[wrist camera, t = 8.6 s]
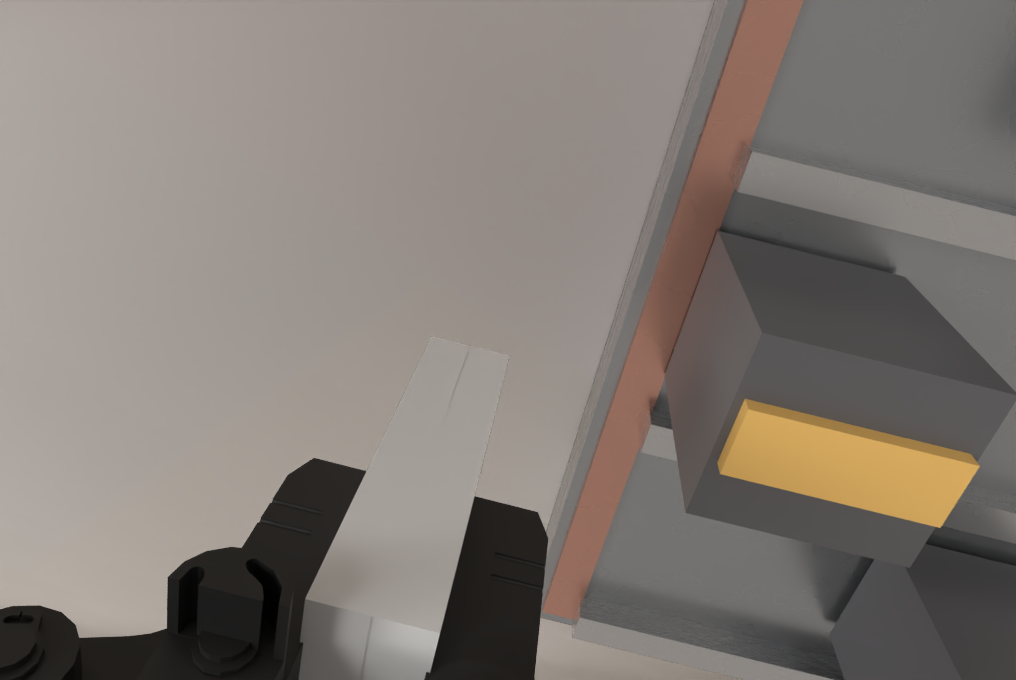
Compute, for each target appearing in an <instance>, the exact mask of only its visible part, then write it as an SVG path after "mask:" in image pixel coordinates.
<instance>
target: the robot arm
mask: <svg viewBox="0 0 1016 680" xmlns="http://www.w3.org/2000/svg"><path fill="white" fill-rule="evenodd" d="M509 357H510V355H506V354H502V353H498V352H494V351H490V350H486V349H482V348H478V347H474V346H470V345H466V344H462V343H458V342H454V341H450V340H446V339H442V338H438V337H434V336H431V338H430V340H429V342H428V344H427V347H426V349H425V351H424V353H423V355H422V357H421V359H420V361H419V363H418V365H417V367H416V369H415V371H414V374H413V376H412V378H411V380H410V382H409V384H408V386H407V388H406V390H405V392H404V394H403V396H402V399H401V401H400V403H399V405H398V407H397V409H396V411H395V413H394V415H393V417H392V419H391V421H390V423H389V426H388V428H387V430H386V432H385V434H384V436H383V438H382V440H381V442H380V444H379V446H378V448H377V451H376V453H375V455H374V457H373V459H372V461H371V463H370V465H369V467H368V469H367V471H363V470H359V469H355V468H351V467H347V466H343V465H340V464H336V463H332V462H328V461H324V460H320V459H316V458H313V459H312V460H310V461H309V462H307V463H306V464H304V465H302V466H301V467H299V468H298V469H296V470H295V471H293V472H292V473H290V474H289V475H288V476H287V477H286V479H285V481H284V482H283V484H282V485H281V487H280V488H279V490H278V492H277V493H276V495H275V496H274V498H273V501H272V503H270V504H269V506H268V507H267V509H266V511H265V512H264V514H263V515H262V517H261V520H260V522H259V523H257V525H256V526H255V528H254V529H253V531H252V533H251V534H250V536H249V537H248V539H247V541H246V542H245V544H244V545H243V547H242V548H235V547H229V548H223V549H217V550H211V551H206V552H204V553H202V554H200V555H198V556H195V557H193V558H191V559H189V560H187V561H185V562H184V563H182V564H181V565H180V566H179V567H178V568H177V569H176V570H175V571H174V572H173V573H172V574H171V575H170V576H169V577H168V599H167V629H164V630H161V631H158V632H154V633H151V634H144V635H136V636H123V637H94V638H79V636H78V632H77V628H76V625H75V624H74V623H73V622H72V621H71V620H69V619H68V618H67V617H66V616H65V615H64V614H63V613H62V612H59V611H56V610H52V609H49V608H46V607H42V606H11V607H7V608H4V609H0V680H535V679H534V674H535V664H536V654H537V645H538V635H539V625H540V615H541V605H542V596H543V592H542V591H543V586H544V576H545V565H546V557H547V547H548V536H547V534H546V531H545V529H544V527H543V524H542V522H541V519H540V517H539V515H538V512H535V511H531V510H527V509H523V508H519V507H515V506H511V505H507V504H503V503H499V502H495V501H491V500H487V499H483V498H479V497H475V493H476V489H477V485H478V481H479V477H480V473H481V469H482V465H483V461H484V457H485V453H486V449H487V445H488V441H489V437H490V433H491V429H492V425H493V421H494V417H495V413H496V409H497V405H498V401H499V397H500V393H501V389H502V385H503V381H504V377H505V373H506V369H507V365H508V361H509Z"/></svg>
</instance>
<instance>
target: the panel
mask: <svg viewBox="0 0 1016 680" xmlns="http://www.w3.org/2000/svg"><path fill="white" fill-rule="evenodd" d="M717 231H721V232H725V233H729V234H733V235H737V236H741V237H746V238H750V239H754V240H758V241H762V242H766V243H770V244H774V245H778V246H782V247H786V248H790V249H794V250H799V251H803V252H807V253H811V254H815V255H819V256H823V257H827V258H831V259H835V260H839V261H843V262H847V263H851V264H856V265H860V266H864V267H868V268H872V269H876V270H880V271H884V272H888V273H892V274H896V275H900V276H904V277H906V278H907V279H908V280H909V281H910V282H911V284H912V285H913V286H914V287H915V288H916V289H917V290H918V291H919V292H920V293H921V294H922V295H923V296H924V297H925V298H926V299H927V300H928V301H929V302H930V303H931V304H932V305H933V306H934V307H935V308H936V310H937V311H938V312H939V313H940V314H941V315H942V316H943V317H944V318H945V319H946V320H947V321H948V322H949V323H950V324H951V325H952V326H953V327H954V328H955V329H956V330H957V331H958V332H959V333H960V335H961V336H962V337H963V338H964V339H965V340H966V341H967V342H968V343H969V344H970V345H971V346H972V347H973V348H974V349H975V350H976V351H977V352H978V353H979V354H980V355H981V356H982V357H983V358H984V359H985V361H986V362H987V363H988V364H989V365H990V366H991V367H992V368H993V369H994V370H995V371H996V372H997V373H998V374H999V375H1000V376H1001V377H1002V378H1003V379H1004V380H1005V381H1006V382H1007V383H1008V384H1009V385H1010V387H1011V388H1012V389H1013V390H1014V391H1015V392H1016V0H715V1H714V5H713V8H712V11H711V14H710V17H709V20H708V23H707V27H706V30H705V33H704V36H703V39H702V42H701V46H700V49H699V52H698V55H697V58H696V61H695V65H694V68H693V71H692V74H691V77H690V80H689V83H688V87H687V90H686V93H685V96H684V99H683V102H682V106H681V109H680V112H679V115H678V118H677V121H676V124H675V128H674V131H673V134H672V137H671V140H670V143H669V147H668V150H667V153H666V156H665V159H664V162H663V165H662V169H661V172H660V175H659V178H658V181H657V184H656V188H655V191H654V194H653V197H652V200H651V203H650V206H649V210H648V213H647V216H646V219H645V222H644V225H643V229H642V232H641V235H640V238H639V241H638V244H637V247H636V251H635V254H634V257H633V260H632V263H631V266H630V270H629V273H628V276H627V279H626V282H625V285H624V289H623V292H622V295H621V298H620V301H619V304H618V307H617V311H616V314H615V317H614V320H613V323H612V326H611V330H610V333H609V336H608V339H607V342H606V345H605V348H604V352H603V355H602V358H601V361H600V364H599V367H598V371H597V374H596V377H595V380H594V383H593V386H592V389H591V393H590V396H589V399H588V402H587V405H586V408H585V412H584V415H583V418H582V421H581V424H580V427H579V430H578V434H577V437H576V440H575V443H574V446H573V449H572V453H571V456H570V459H569V462H568V465H567V468H566V472H565V475H564V478H563V481H562V484H561V487H560V490H559V494H558V497H557V500H556V503H555V506H554V509H553V513H552V516H551V519H550V522H549V525H548V528H547V531H546V534H547V536H548V547H547V557H546V565H545V576H544V586H543V591H542V592H543V596H542V605H541V615H540V618H544V619H548V620H552V621H556V622H560V623H564V624H568V625H572V626H573V627H572V638H575V639H579V640H584V641H588V642H592V643H596V644H600V645H604V646H608V647H612V648H616V649H620V650H625V651H629V652H633V653H637V654H641V655H645V656H649V657H653V658H657V659H661V660H665V661H670V662H674V663H678V664H682V665H686V666H690V667H694V668H698V669H702V670H706V671H711V672H715V673H719V674H723V675H727V676H731V677H735V678H739V679H743V680H845V679H844V676H843V673H842V670H841V667H840V664H839V661H838V659H837V656H836V653H835V650H834V647H833V644H832V641H831V638H830V635H829V634H830V632H831V630H832V629H833V627H834V625H835V624H836V622H837V620H838V619H839V617H840V615H841V614H842V612H843V610H844V609H845V607H846V605H847V604H848V602H849V600H850V599H851V597H852V595H853V594H854V592H855V590H856V589H857V587H858V586H859V584H860V582H861V581H862V579H863V577H864V576H865V574H866V572H867V571H868V569H869V567H870V566H871V564H872V562H873V561H874V559H872V558H868V557H864V556H860V555H856V554H852V553H847V552H843V551H839V550H835V549H831V548H827V547H823V546H819V545H815V544H811V543H807V542H802V541H798V540H794V539H790V538H786V537H782V536H778V535H774V534H770V533H766V532H762V531H757V530H753V529H749V528H745V527H741V526H737V525H733V524H729V523H725V522H721V521H717V520H713V519H708V518H704V517H700V516H696V515H692V514H688V513H685V507H684V500H683V494H682V487H681V481H680V475H679V468H678V462H677V455H676V449H675V442H674V436H673V429H672V423H671V416H670V410H669V404H668V397H667V391H666V384H665V378H664V376H665V373H666V370H667V368H668V365H669V362H670V359H671V357H672V354H673V351H674V348H675V346H676V343H677V340H678V338H679V335H680V332H681V329H682V327H683V324H684V321H685V318H686V316H687V313H688V310H689V308H690V305H691V302H692V299H693V297H694V294H695V291H696V289H697V286H698V283H699V280H700V278H701V275H702V272H703V269H704V267H705V264H706V261H707V259H708V256H709V253H710V250H711V248H712V245H713V242H714V240H715V237H716V234H717ZM977 463H978V464H979V466H980V467H979V468H978V470H977V472H976V473H975V475H974V476H973V478H972V479H971V481H970V482H969V484H968V486H967V487H966V489H965V490H964V492H963V493H962V495H961V497H960V498H959V500H958V501H957V503H956V504H955V506H954V507H953V509H952V511H951V512H950V514H949V515H948V517H947V518H946V520H945V522H944V523H943V525H942V526H941V528H938V527H935V529H934V531H933V532H932V534H931V535H930V537H929V538H928V540H927V542H926V543H925V544H928V545H932V546H936V547H940V548H944V549H948V550H952V551H956V552H961V553H965V554H969V555H973V556H977V557H981V558H985V559H989V560H993V561H997V562H1001V563H1005V564H1010V565H1014V566H1016V402H1015V403H1014V405H1013V406H1012V408H1011V410H1010V411H1009V413H1008V414H1007V416H1006V417H1005V419H1004V421H1003V422H1002V424H1001V425H1000V427H999V428H998V430H997V432H996V433H995V435H994V436H993V438H992V439H991V441H990V443H989V444H988V446H987V447H986V449H985V450H984V452H983V454H982V455H981V457H980V458H979V460H978V461H977Z"/></svg>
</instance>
